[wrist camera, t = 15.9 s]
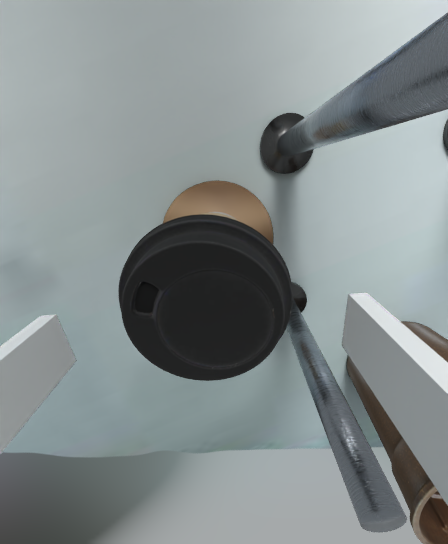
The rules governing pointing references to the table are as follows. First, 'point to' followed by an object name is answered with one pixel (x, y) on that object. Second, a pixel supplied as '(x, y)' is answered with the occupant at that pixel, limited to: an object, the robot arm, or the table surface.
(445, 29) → the pole corner
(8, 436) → the robot arm
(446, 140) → the pole outer
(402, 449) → the plant pot
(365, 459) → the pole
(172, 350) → the coffee cup
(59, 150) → the table surface
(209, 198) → the coaster
